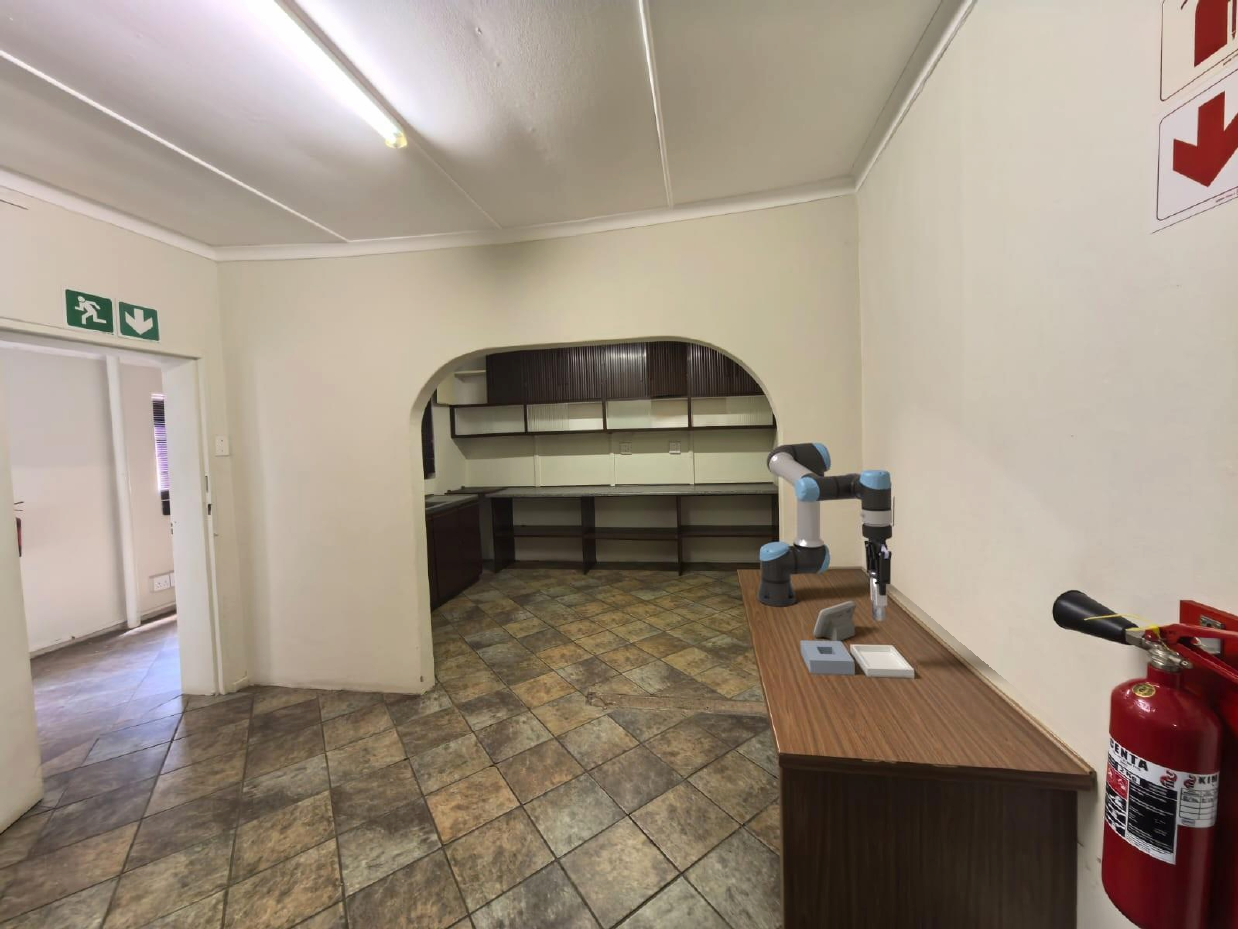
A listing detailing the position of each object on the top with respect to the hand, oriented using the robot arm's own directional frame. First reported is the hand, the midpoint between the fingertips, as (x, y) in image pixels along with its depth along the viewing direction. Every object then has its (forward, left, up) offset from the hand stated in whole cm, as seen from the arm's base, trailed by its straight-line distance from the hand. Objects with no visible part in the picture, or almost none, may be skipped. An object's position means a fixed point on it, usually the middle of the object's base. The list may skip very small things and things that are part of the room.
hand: (878, 602), depth 128 cm
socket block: (0, -15, -19) cm, 24 cm away
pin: (0, 0, -5) cm, 5 cm away
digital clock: (-19, -7, -19) cm, 28 cm away
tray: (0, 0, -19) cm, 19 cm away
